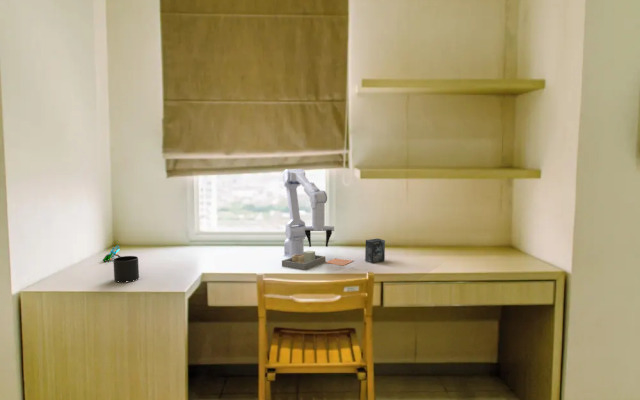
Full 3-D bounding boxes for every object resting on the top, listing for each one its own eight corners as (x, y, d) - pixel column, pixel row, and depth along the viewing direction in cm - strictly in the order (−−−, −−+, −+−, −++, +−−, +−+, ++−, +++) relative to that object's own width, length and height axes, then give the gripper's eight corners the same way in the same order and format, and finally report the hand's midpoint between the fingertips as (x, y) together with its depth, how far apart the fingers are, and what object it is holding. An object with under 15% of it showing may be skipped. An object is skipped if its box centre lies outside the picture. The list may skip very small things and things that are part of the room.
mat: (324, 263, 216) (324, 262, 216) (335, 259, 225) (335, 258, 225) (342, 266, 211) (342, 265, 211) (353, 262, 219) (353, 260, 219)
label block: (292, 266, 210) (292, 255, 209) (297, 264, 213) (297, 253, 213) (299, 267, 208) (299, 256, 207) (304, 265, 211) (304, 254, 210)
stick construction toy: (113, 252, 231) (118, 241, 228) (124, 259, 232) (130, 249, 228) (98, 264, 220) (103, 253, 217) (110, 272, 221) (116, 261, 218)
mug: (141, 274, 198) (140, 254, 197) (137, 282, 187) (136, 260, 186) (118, 275, 196) (117, 255, 195) (112, 283, 184) (111, 261, 183)
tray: (281, 267, 210) (281, 260, 210) (303, 259, 225) (303, 253, 225) (304, 270, 203) (304, 264, 203) (325, 262, 218) (325, 256, 218)
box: (372, 263, 216) (372, 241, 215) (364, 261, 221) (365, 239, 220) (385, 261, 221) (385, 239, 219) (377, 259, 225) (377, 238, 224)
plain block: (303, 262, 217) (303, 252, 217) (308, 260, 221) (308, 250, 220) (310, 263, 215) (310, 253, 215) (315, 261, 219) (315, 251, 218)
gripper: (302, 218, 206) (302, 248, 208) (334, 218, 207) (334, 248, 208) (302, 216, 213) (302, 245, 215) (333, 216, 214) (333, 244, 215)
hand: (318, 246), depth 212 cm, fingers open, 7 cm apart
